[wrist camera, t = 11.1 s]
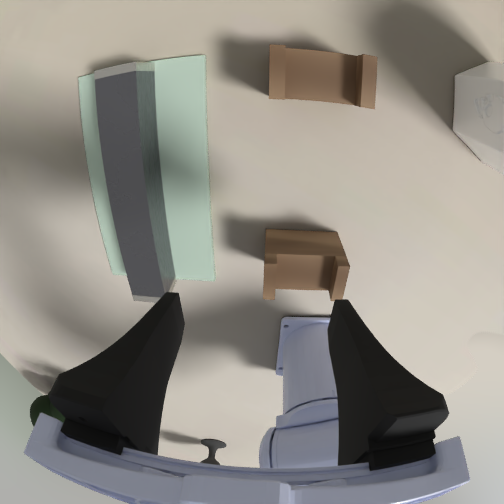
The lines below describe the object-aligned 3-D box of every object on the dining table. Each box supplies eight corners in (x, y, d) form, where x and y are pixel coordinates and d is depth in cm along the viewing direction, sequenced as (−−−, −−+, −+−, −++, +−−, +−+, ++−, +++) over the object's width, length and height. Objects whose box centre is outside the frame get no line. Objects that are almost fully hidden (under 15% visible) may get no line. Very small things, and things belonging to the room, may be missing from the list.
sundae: (213, 435, 45) (202, 508, 33) (237, 446, 48) (230, 514, 35) (189, 439, 48) (177, 506, 35) (213, 450, 50) (204, 512, 38)
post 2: (331, 263, 24) (341, 301, 20) (264, 261, 24) (262, 299, 20) (337, 232, 23) (350, 266, 19) (265, 229, 23) (264, 263, 19)
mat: (215, 278, 26) (214, 281, 25) (114, 272, 26) (112, 274, 26) (205, 55, 16) (204, 55, 16) (81, 77, 17) (78, 77, 16)
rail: (176, 280, 26) (167, 303, 23) (145, 278, 26) (133, 300, 23) (154, 63, 16) (136, 61, 13) (116, 70, 16) (93, 70, 14)
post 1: (352, 103, 17) (374, 109, 13) (269, 96, 17) (268, 98, 13) (354, 62, 16) (377, 56, 12) (269, 54, 16) (269, 44, 12)
